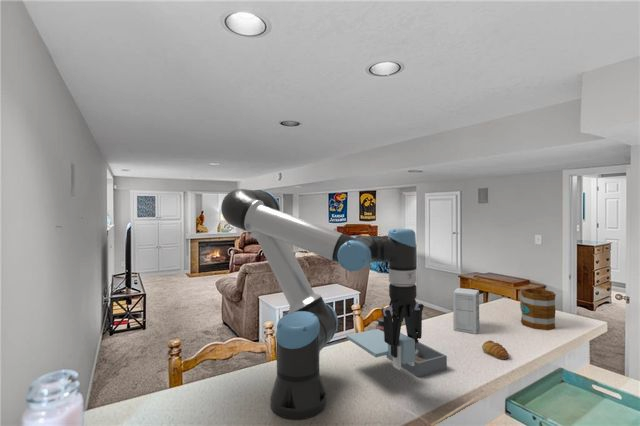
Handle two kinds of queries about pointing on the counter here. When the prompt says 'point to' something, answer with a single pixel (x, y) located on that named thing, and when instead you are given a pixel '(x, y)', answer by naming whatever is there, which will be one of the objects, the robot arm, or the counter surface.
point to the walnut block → (418, 359)
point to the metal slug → (417, 352)
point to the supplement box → (466, 310)
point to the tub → (426, 361)
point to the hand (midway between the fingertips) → (403, 365)
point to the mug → (538, 308)
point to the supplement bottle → (380, 324)
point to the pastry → (495, 350)
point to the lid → (383, 344)
